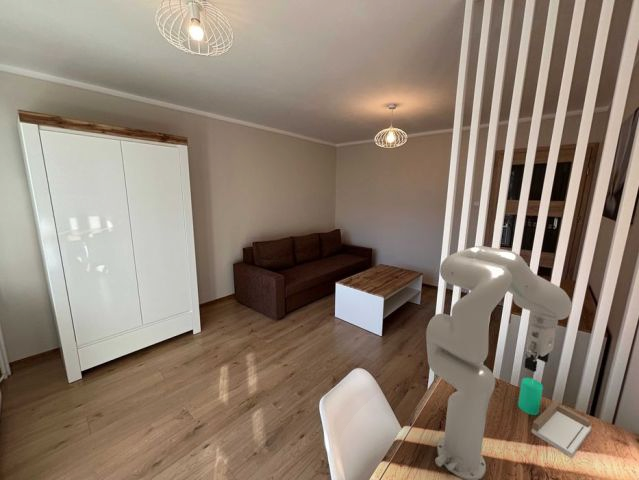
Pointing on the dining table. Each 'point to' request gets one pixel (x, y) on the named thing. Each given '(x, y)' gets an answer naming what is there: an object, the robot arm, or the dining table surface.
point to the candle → (530, 396)
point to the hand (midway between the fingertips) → (535, 364)
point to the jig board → (561, 428)
